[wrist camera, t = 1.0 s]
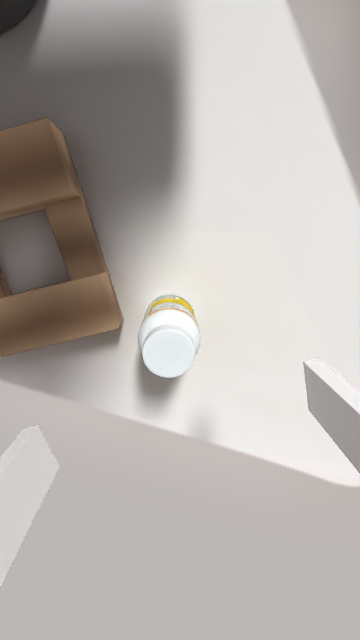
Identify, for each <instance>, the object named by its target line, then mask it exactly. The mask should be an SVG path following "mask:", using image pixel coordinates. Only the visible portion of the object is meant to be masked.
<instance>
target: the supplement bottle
mask: <svg viewBox="0 0 360 640" xmlns="http://www.w3.org/2000/svg"><path fill="white" fill-rule="evenodd" d="M138 344H139V348H140V351H141V353H142V357H143V361H144V363H145V365H146V366H147V368H148V369H149V370H150V371H151V372H152V373H154V374H156V375H158V376H161V377H165V378H173V377H177V376H180V375H182V374H184V373H185V372H186V371H188V370H189V368H190V367H191V366H192V364H193V362H194V359H195V355H196V354H197V352H198V349H199V346H200V332H199V328H198V325H197V322H196V318H195V315H194V311H193V309H192V307H191V305H190V304H189V303H188V301H186V300H185V299H184V298H182V297H180V296H177V295H173V294H167V295H162V296H160V297H158V298H156V299H155V300H153V301H152V302H151V304H150V305H149V307H148V309H147V311H146V314H145V317H144V319H143V322H142V325H141V327H140V330H139V335H138Z"/></svg>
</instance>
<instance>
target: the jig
mask: <svg viewBox="0 0 360 640" xmlns="http://www.w3.org/2000/svg"><path fill="white" fill-rule="evenodd" d="M43 209H45V211H46V214H47V217H48V219H49V222H50V225H51V227H52V230H53V233H54V236H55V238H56V241H57V244H58V246H59V249H60V252H61V255H62V257H63V260H64V263H65V265H66V268H67V271H68V273H69V276H70V279H71V280H68V281H64V282H60V283H56V284H52V285H48V286H45V287H41V288H37V289H33V290H29V291H25V292H21V293H17V294H13V295H12V294H11V292H10V289H9V287H8V285H7V283H6V281H5V278H4V276H3V274H2V272H1V269H0V357H3V356H7V355H11V354H16V353H20V352H24V351H28V350H32V349H36V348H40V347H45V346H49V345H53V344H57V343H61V342H65V341H69V340H74V339H78V338H82V337H86V336H90V335H94V334H98V333H103V332H107V331H111V330H115V329H118V328H119V326H120V325H121V323H122V322H123V317H122V313H121V310H120V307H119V304H118V301H117V298H116V295H115V292H114V289H113V286H112V283H111V279H110V276H109V273H108V270H107V267H106V264H105V261H104V258H103V255H102V252H101V248H100V245H99V242H98V239H97V236H96V233H95V230H94V227H93V224H92V221H91V217H90V214H89V211H88V208H87V205H86V202H85V199H84V196H83V193H82V190H81V186H80V183H79V180H78V177H77V174H76V171H75V168H74V165H73V162H72V159H71V156H70V152H69V149H68V146H67V143H66V140H65V137H64V134H63V132H62V131H61V130H60V129H59V128H58V127H57V126H56V125H55V124H54V123H53V122H52V121H51V120H50V119H49V118H48V117H47V118H44V119H40V120H37V121H33V122H30V123H26V124H22V125H19V126H15V127H12V128H8V129H4V130H1V131H0V221H2V220H5V219H9V218H13V217H17V216H21V215H24V214H28V213H32V212H36V211H39V210H43Z"/></svg>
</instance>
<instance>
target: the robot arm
mask: <svg viewBox="0 0 360 640" xmlns="http://www.w3.org/2000/svg"><path fill="white" fill-rule="evenodd" d="M35 2H36V0H0V34H1V33H3V32H5V31H7V30H8V29H10V28H12V27H13V26H14V25H16V24H17V23H18V22H19V21H20V20H21V19H23V17H24V16H25V15H26V14H27V13H28V12H29V10H30V9H31V8H32V6H33V5H34V3H35ZM303 364H304V373H305V382H306V391H307V400H308V408H309V411H310V412H311V413H312V415H313V416H314V417H315V418H316V419H317V421H318V422H319V423H320V424H321V426H322V427H323V428H324V429H325V431H326V432H327V433H328V434H329V436H330V437H331V438H332V439H333V441H334V442H335V443H336V444H337V446H338V447H339V448H340V449H341V451H342V452H343V453H344V454H345V456H346V457H347V458H348V459H349V461H350V462H351V463H352V464H353V466H354V467H355V468H356V469H357V471H358V472H359V473H360V390H359V389H358V388H357V387H355V386H354V385H353V384H352V383H350V382H349V381H348V380H347V379H345V378H344V377H343V376H342V375H340V374H339V373H338V372H337V371H335V370H334V369H333V368H332V367H330V366H329V365H328V364H327V363H325V362H324V361H323V360H322V359H320V358H316V359H312V360H308V361H304V362H303ZM58 469H59V464H58V462H57V461H56V458H55V456H54V454H53V452H52V451H51V449H50V446H49V445H48V443H47V441H46V439H45V437H44V435H43V433H42V431H41V429H40V427H39V425H34V426H30V427H25V428H23V429H22V430H21V432H20V433H19V434H18V435H17V437H16V438H15V439H14V441H13V442H12V443H11V444H10V446H9V447H8V448H7V450H6V451H5V452H4V453H3V455H2V456H1V457H0V587H1V586H2V583H3V581H4V579H5V577H6V575H7V573H8V571H9V569H10V567H11V565H12V563H13V561H14V559H15V557H16V555H17V553H18V551H19V549H20V547H21V545H22V543H23V540H24V539H25V537H26V534H27V532H28V530H29V528H30V526H31V524H32V522H33V520H34V518H35V516H36V513H37V512H38V510H39V508H40V506H41V504H42V502H43V500H44V497H45V496H46V494H47V491H48V489H49V487H50V485H51V483H52V481H53V479H54V477H55V475H56V473H57V471H58Z"/></svg>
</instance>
